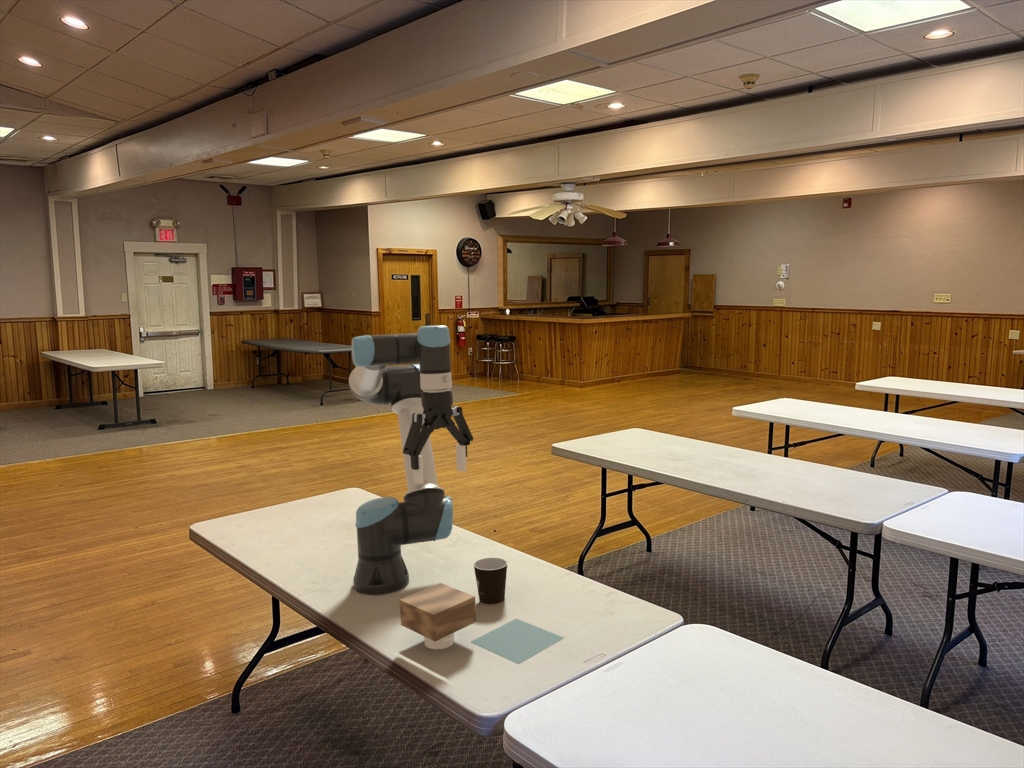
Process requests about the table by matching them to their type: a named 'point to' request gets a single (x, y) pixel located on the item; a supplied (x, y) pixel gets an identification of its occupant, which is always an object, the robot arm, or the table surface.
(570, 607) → the table surface
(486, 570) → the coffee mug
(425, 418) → the robot arm
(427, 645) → the white cup
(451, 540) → the table surface
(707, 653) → the table surface
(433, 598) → the brown wooden block
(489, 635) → the mat
